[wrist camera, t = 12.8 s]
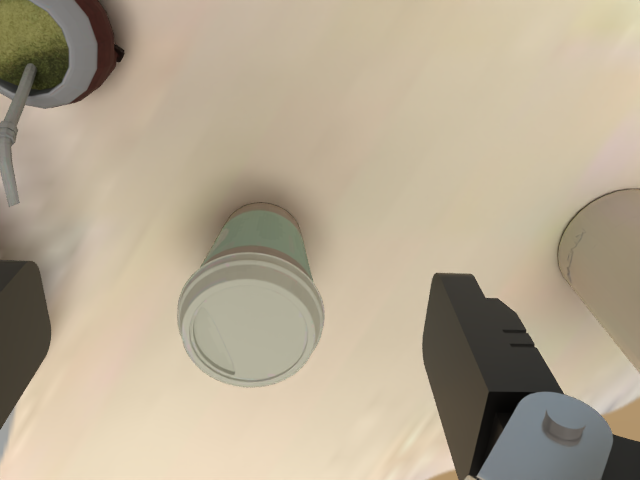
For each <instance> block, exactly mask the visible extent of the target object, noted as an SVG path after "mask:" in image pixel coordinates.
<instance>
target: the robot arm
mask: <svg viewBox="0 0 640 480" xmlns="http://www.w3.org/2000/svg"><path fill="white" fill-rule="evenodd" d="M558 261H559V267H560V270H561V272H562V275H563V277H564V278H565V279H566V280H567V282H568V283H569V284H570V286H571V287H572V288H573V290H574V291H575V292H576V293H577V295H578V296H579V297H580V298H581V300H582V301H583V302H584V304H585V305H586V306H587V308H588V309H589V310H590V312H591V313H592V314H593V315H594V317H595V318H596V319H597V320H598V322H599V323H600V324H601V325H602V327H603V328H604V329H605V330H606V332H607V333H608V334H609V335H610V337H611V338H612V339H613V341H614V342H615V343H616V344H617V346H618V347H619V348H620V349H621V351H622V352H623V353H624V354H625V356H626V357H627V358H628V359H629V361H630V362H631V363H632V364H633V366H634V367H635V368H636V369H637V371H638V372H639V373H640V189H629V190H622V191H617V192H614V193H611V194H608V195H605V196H603V197H601V198H599V199H597V200H596V201H594V202H592V203H590V204H589V205H588V206H587V207H585V208H584V209H583V210H581V211H580V212H579V213H578V214H577V215H576V217H575V218H574V219H573V220H572V221H571V222H570V224H569V225H568V227H567V229H566V230H565V232H564V234H563V236H562V239H561V242H560V244H559V252H558ZM50 340H51V325H50V320H49V315H48V310H47V305H46V300H45V295H44V290H43V285H42V280H41V275H40V271H39V268H38V266H37V264H36V263H35V262H33V261H14V260H0V429H1V428H2V426H3V424H4V423H5V421H6V419H7V418H8V416H9V415H10V413H11V411H12V410H13V408H14V407H15V405H16V403H17V402H18V400H19V399H20V397H21V395H22V394H23V392H24V391H25V389H26V387H27V386H28V384H29V383H30V381H31V379H32V378H33V376H34V375H35V373H36V371H37V370H38V368H39V366H40V365H41V363H42V362H43V360H44V358H45V357H46V355H47V352H48V349H49V346H50ZM422 349H423V360H424V365H425V369H426V372H427V375H428V379H429V382H430V385H431V389H432V392H433V395H434V399H435V402H436V406H437V409H438V412H439V416H440V419H441V422H442V426H443V429H444V432H445V436H446V439H447V442H448V446H449V449H450V453H451V456H452V459H453V463H454V466H455V469H456V473H457V476H458V479H459V480H640V442H638V441H634V440H630V439H626V438H623V437H619V436H616V435H614V434H612V431H611V429H610V427H609V425H608V423H607V422H606V421H605V420H604V418H603V417H602V416H601V415H600V414H599V413H598V412H597V411H596V410H594V409H593V408H592V407H590V406H589V405H587V404H585V403H584V402H582V401H580V400H578V399H576V398H573V397H570V396H568V395H564V393H563V391H562V390H561V388H560V386H559V385H558V383H557V381H556V380H555V378H554V376H553V374H552V373H551V371H550V369H549V368H548V366H547V364H546V363H545V361H544V359H543V358H542V356H541V354H540V352H539V351H538V349H537V348H535V347H534V342H533V341H532V339H531V337H530V336H529V334H528V333H526V329H525V327H524V325H523V324H522V322H521V320H520V319H519V317H518V315H517V314H516V313H515V312H514V311H513V310H512V309H510V308H509V307H508V306H507V305H505V304H504V303H503V302H502V301H500V300H499V299H498V298H485V296H484V294H483V292H482V290H481V289H480V287H479V285H478V283H477V281H476V279H475V277H474V276H473V275H472V274H454V273H436V274H435V275H434V276H433V279H432V283H431V289H430V295H429V301H428V308H427V314H426V320H425V326H424V332H423V343H422Z"/></svg>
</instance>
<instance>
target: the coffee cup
mask: <svg viewBox="0 0 640 480" xmlns="http://www.w3.org/2000/svg"><path fill="white" fill-rule="evenodd" d="M177 320H178V327H179V332H180V335H181V337H182V340H183V344H184V347H185V350H186V352H187V354H188V355H189V357H190V358H191V360H192V361H193V362H194V363H195V365H196V366H197V367H198V368H199V369H201V370H202V371H203V372H204V373H206V374H207V375H209V376H210V377H212V378H214V379H216V380H218V381H221V382H223V383H226V384H230V385H234V386H239V387H262V386H268V385H272V384H275V383H278V382H281V381H283V380H285V379H287V378H289V377H290V376H292V375H293V374H295V373H296V372H297V371H299V370H300V369H301V368H302V367H303V366H304V364H305V363H306V362H307V360H308V359H309V357H310V355H311V353H312V352H313V351H314V349H315V348H316V346H317V344H318V342H319V340H320V337H321V333H322V329H323V325H324V305H323V301H322V298H321V295H320V293H319V291H318V289H317V287H316V286H315V284H314V283H313V279H312V275H311V271H310V267H309V263H308V259H307V255H306V251H305V247H304V243H303V240H302V236H301V232H300V229H299V226H298V224H297V222H296V221H295V219H294V218H293V217H292V216H291V215H290V214H289V213H288V212H287V211H286V210H284V209H282V208H281V207H278V206H276V205H273V204H268V203H253V204H249V205H246V206H243V207H241V208H240V209H238V210H237V211H235V212H234V213H233V214H232V215H231V216H230V217H229V219H228V220H227V222H226V224H225V225H224V227H223V229H222V230H221V232H220V234H219V235H218V237H217V239H216V241H215V243H214V244H213V246H212V248H211V250H210V251H209V253H208V255H207V257H206V258H205V260H204V262H203V264H202V265H201V267H200V268H199V269H198V270H197V271H196V272H195V273H194V274H193V275H192V276H191V277H190V278H189V279H188V281H187V282H186V284H185V285H184V287H183V289H182V292H181V294H180V297H179V301H178V315H177Z"/></svg>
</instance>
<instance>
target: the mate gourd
mask: <svg viewBox="0 0 640 480" xmlns="http://www.w3.org/2000/svg"><path fill="white" fill-rule="evenodd" d="M123 56H124V50H123V49H121V48H120V47H118V46H117V45H115V44H114V34H113V31H112V28H111V25H110V22H109V19H108V17H107V14H106V11H105V10H104V9H103V7H102V6H101V4H100V3H99V1H98V0H0V93H1V94H3V95H5V96H6V97H8V98H10V99H12V103H11V105H10V107H9V110H8V112H7V114H6V117H5V119H4V121H2V122H1V123H0V172H1V176H2V180H3V184H4V188H5V193H6V197H7V201H8V205H9V207H10V206H13V205H16V204H18V203H20V202H19V197H18V192H17V186H16V181H15V175H14V170H13V164H12V152H11V146H12V145H13V144H14V143H15V140H16V135H17V132H18V129H17V123H18V121H19V118H20V116H21V113H22V111H23V108H24V106H25V105H28V106H34V107H39V108H45V109H46V108H53V107H58V106H62V105H67V104H71V103H76V102H78V101H81V100H82V99H84V98H85V97H86V96H88V95H89V94H90V93H92V92H93V91H95V90H96V89H97V88H99V87H100V86H101V85H102V83H103V82H104V81H105V80H106V78H107V77H108V76H109V75H110V73H111V72H112V71H113V70H114V68H115V66H116V62H120V61H121V60H122V58H123Z"/></svg>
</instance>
